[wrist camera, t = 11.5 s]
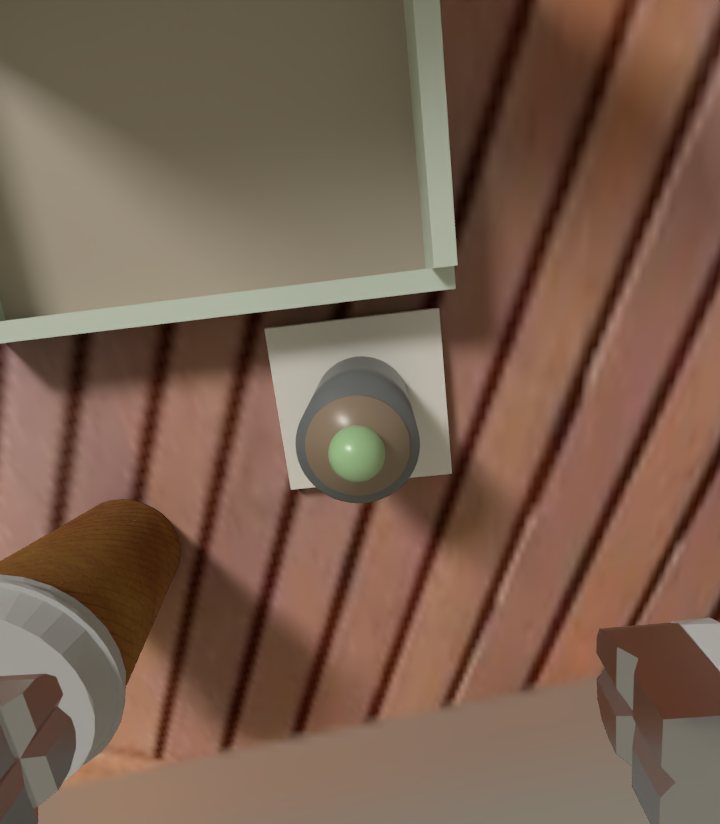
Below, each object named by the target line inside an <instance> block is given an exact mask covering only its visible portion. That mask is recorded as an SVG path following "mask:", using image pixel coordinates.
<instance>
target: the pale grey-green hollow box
mask: <svg viewBox="0 0 720 824" xmlns="http://www.w3.org/2000/svg"><path fill="white" fill-rule="evenodd" d="M457 265H458V263H457V248H456V233H455V218H454V203H453V189H452V174H451V159H450V144H449V129H448V114H447V99H446V84H445V69H444V55H443V40H442V25H441V10H440V0H0V343H8V342H16V341H25V340H33V339H41V338H50V337H58V336H66V335H75V334H83V333H91V332H99V331H108V330H116V329H124V328H133V327H141V326H149V325H158V324H166V323H174V322H183V321H191V320H199V319H208V318H216V317H224V316H232V315H241V314H249V313H257V312H266V311H274V310H282V309H291V308H299V307H307V306H316V305H324V304H332V303H341V302H349V301H357V300H365V299H374V298H382V297H390V296H399V295H407V294H415V293H424V292H432V291H440V290H449V289H456V285H455V270H454V266H457Z"/></svg>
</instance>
